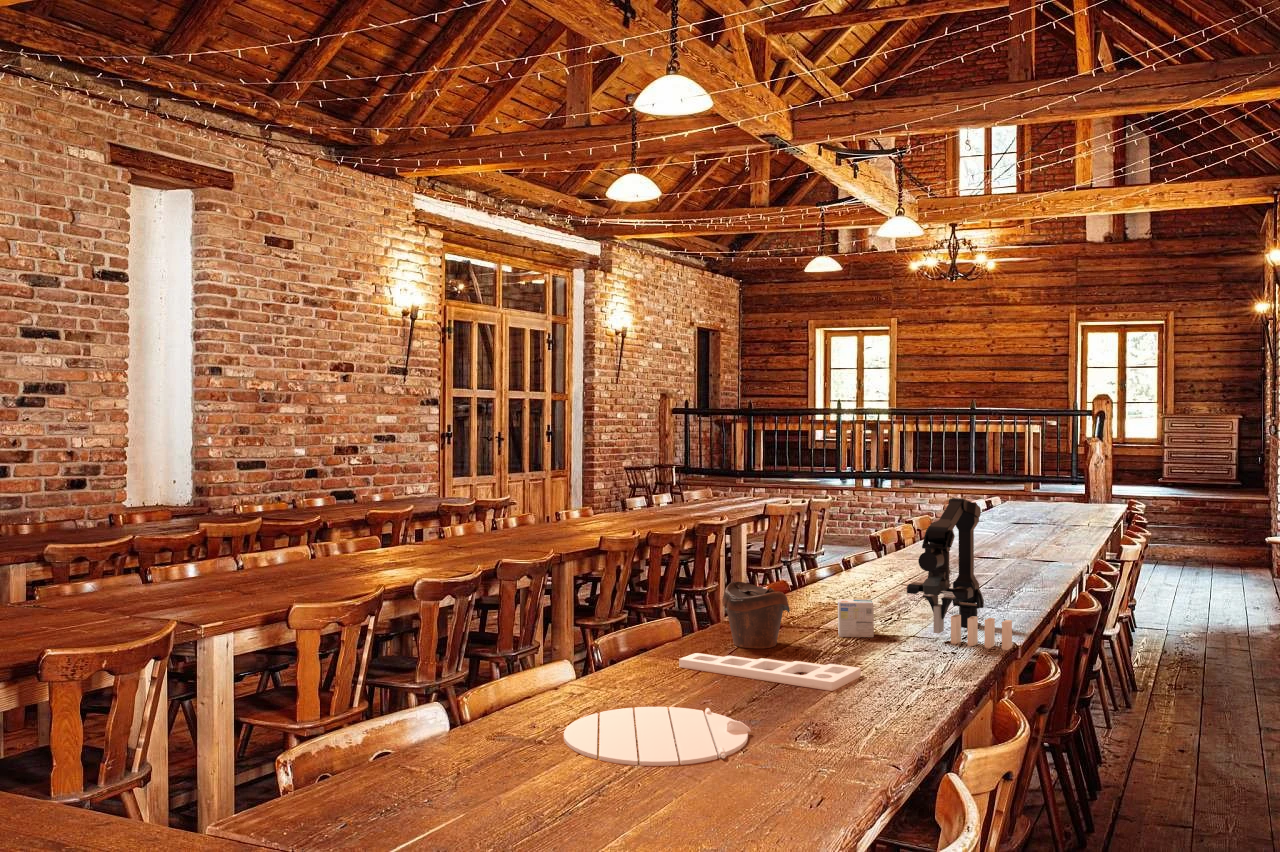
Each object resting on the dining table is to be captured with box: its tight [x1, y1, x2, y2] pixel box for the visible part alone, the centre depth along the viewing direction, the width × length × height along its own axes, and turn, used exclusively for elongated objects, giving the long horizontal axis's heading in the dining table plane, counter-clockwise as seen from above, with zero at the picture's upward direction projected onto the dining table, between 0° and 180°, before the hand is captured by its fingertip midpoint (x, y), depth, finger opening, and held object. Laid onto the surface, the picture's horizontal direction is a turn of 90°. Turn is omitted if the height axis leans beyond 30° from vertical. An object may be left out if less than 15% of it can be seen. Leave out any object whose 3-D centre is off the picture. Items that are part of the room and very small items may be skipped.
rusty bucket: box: [721, 581, 791, 650], centre depth 319 cm, size 18×20×18 cm
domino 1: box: [933, 603, 945, 634], centre depth 323 cm, size 4×2×8 cm, turn 145°
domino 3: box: [967, 615, 979, 647], centre depth 318 cm, size 4×2×8 cm, turn 145°
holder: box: [678, 652, 862, 692], centre depth 286 cm, size 45×18×3 cm, turn 56°
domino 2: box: [950, 613, 962, 645], centre depth 321 cm, size 4×2×8 cm, turn 145°
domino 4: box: [984, 617, 996, 649], centre depth 316 cm, size 4×2×8 cm, turn 145°
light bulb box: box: [837, 598, 875, 638], centre depth 332 cm, size 11×7×11 cm, turn 84°
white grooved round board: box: [563, 706, 752, 767], centre depth 230 cm, size 40×39×3 cm
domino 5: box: [1001, 619, 1013, 651], centre depth 313 cm, size 4×2×8 cm, turn 145°
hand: (939, 618), depth 324 cm, fingers closed on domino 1, 2 cm apart
